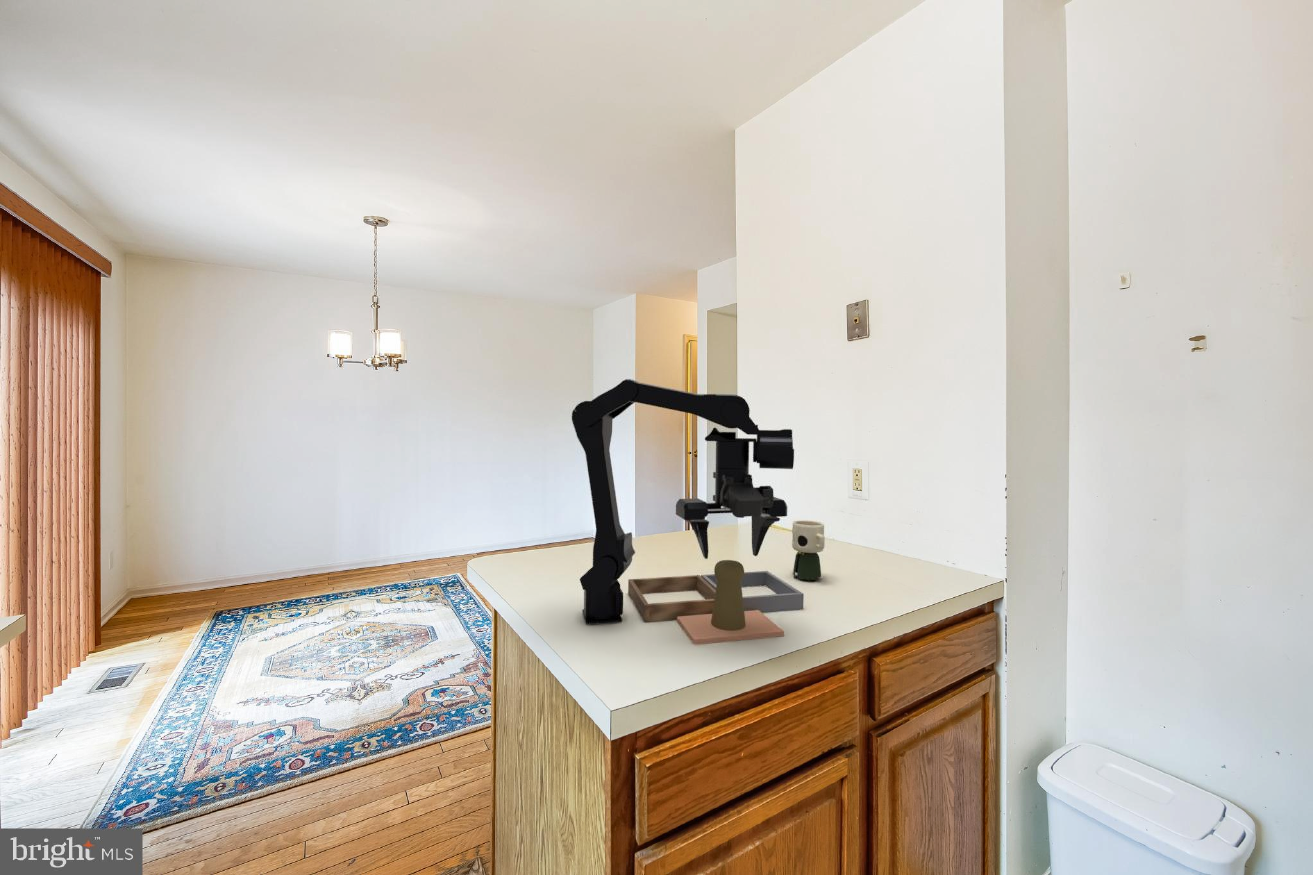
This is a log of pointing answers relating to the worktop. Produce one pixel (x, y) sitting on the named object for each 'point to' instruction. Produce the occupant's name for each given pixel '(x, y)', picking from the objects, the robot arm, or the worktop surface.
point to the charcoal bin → (766, 603)
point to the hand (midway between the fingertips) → (730, 556)
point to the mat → (705, 632)
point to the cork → (728, 596)
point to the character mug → (807, 548)
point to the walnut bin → (671, 608)
